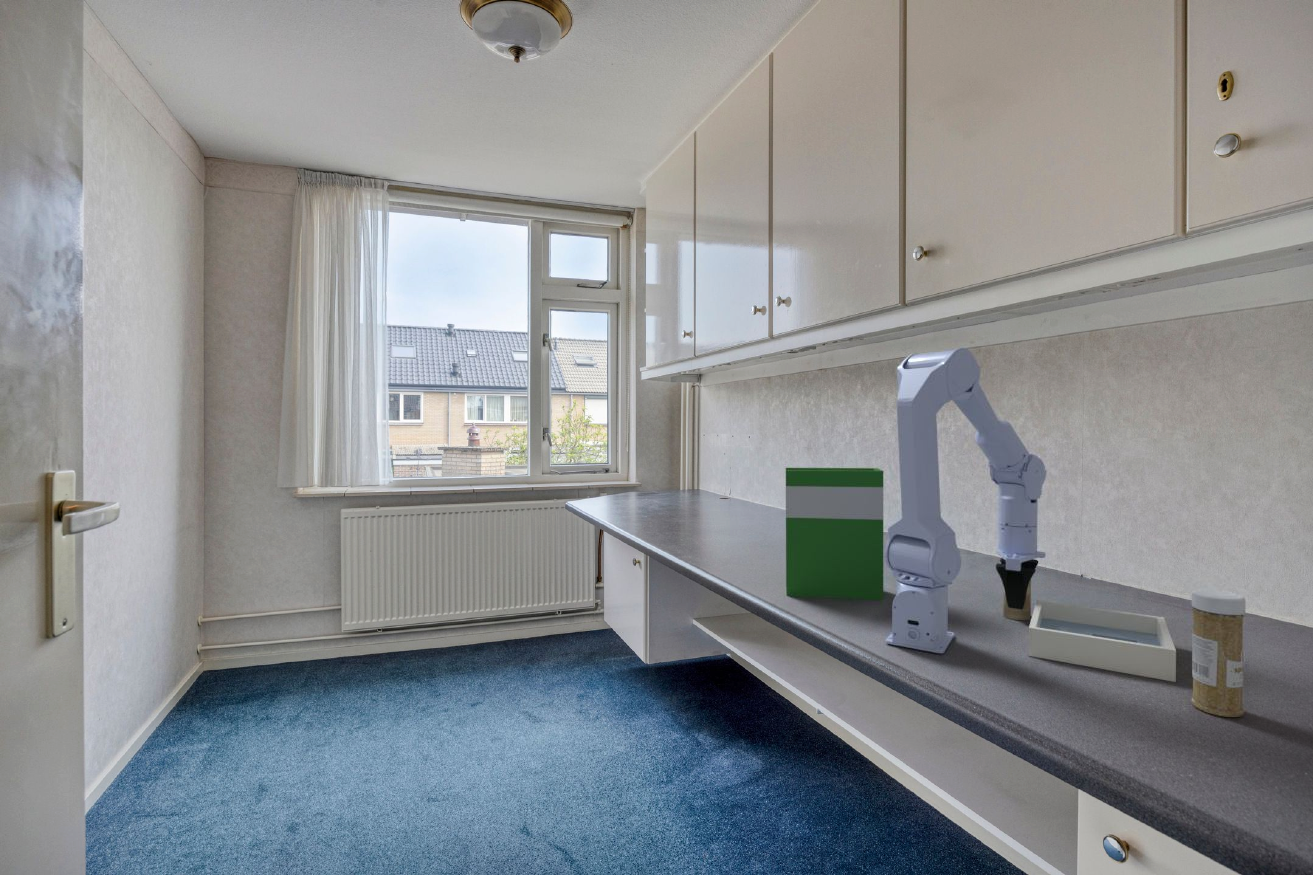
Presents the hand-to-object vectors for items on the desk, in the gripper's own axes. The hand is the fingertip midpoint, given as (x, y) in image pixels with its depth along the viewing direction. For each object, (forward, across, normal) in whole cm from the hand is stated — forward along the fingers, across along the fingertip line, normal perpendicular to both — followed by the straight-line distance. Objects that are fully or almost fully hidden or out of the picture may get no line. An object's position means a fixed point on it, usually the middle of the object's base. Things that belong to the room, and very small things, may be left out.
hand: (1017, 604), depth 105 cm
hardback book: (+2, -2, +31) cm, 31 cm away
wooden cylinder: (+2, 0, 0) cm, 2 cm away
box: (+2, -11, -11) cm, 16 cm away
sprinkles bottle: (+2, -26, -22) cm, 34 cm away
